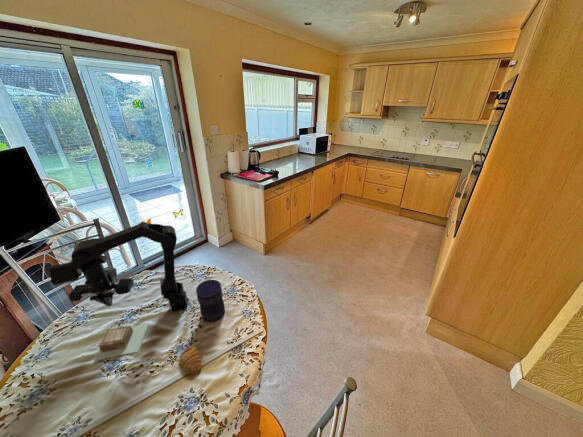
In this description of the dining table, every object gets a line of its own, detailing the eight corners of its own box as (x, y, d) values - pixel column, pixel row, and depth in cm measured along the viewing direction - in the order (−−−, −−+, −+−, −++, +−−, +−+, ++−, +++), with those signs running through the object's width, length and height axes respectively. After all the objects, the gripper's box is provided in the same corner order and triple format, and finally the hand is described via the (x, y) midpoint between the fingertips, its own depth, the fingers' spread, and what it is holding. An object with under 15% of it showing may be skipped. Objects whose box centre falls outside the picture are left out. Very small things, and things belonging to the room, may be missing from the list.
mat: (148, 324, 96) (148, 323, 96) (138, 351, 86) (138, 351, 86) (110, 331, 93) (109, 330, 93) (95, 360, 83) (94, 359, 83)
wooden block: (130, 325, 91) (107, 329, 90) (123, 341, 85) (98, 345, 83) (133, 331, 93) (110, 335, 91) (126, 347, 87) (102, 352, 85)
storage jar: (216, 325, 96) (211, 299, 89) (196, 319, 99) (190, 293, 92) (229, 307, 105) (225, 282, 98) (211, 301, 107) (206, 277, 100)
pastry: (207, 367, 82) (205, 360, 80) (187, 380, 78) (185, 374, 76) (197, 347, 88) (195, 341, 86) (178, 359, 84) (176, 352, 82)
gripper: (132, 257, 92) (143, 286, 99) (77, 263, 88) (92, 294, 95) (121, 275, 82) (134, 307, 89) (58, 284, 78) (77, 316, 85)
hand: (110, 305), depth 90 cm, fingers closed
